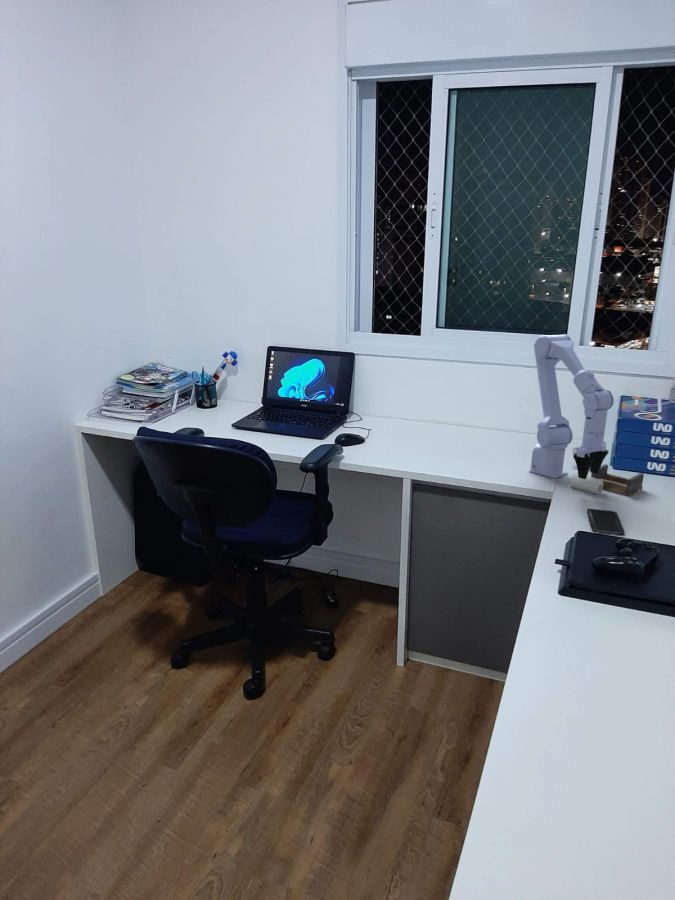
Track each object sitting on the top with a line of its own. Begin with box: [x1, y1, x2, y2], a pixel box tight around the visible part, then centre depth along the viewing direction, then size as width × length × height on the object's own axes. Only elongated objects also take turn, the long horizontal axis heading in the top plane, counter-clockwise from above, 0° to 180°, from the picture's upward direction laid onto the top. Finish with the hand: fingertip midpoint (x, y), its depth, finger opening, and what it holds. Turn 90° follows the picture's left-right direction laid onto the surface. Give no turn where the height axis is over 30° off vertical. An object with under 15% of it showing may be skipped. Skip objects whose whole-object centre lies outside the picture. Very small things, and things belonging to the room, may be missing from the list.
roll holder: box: [590, 464, 645, 497], centre depth 202 cm, size 12×9×5 cm
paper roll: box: [570, 472, 603, 495], centre depth 199 cm, size 8×4×4 cm, turn 44°
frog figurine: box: [572, 444, 590, 457], centre depth 221 cm, size 6×7×7 cm
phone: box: [586, 508, 625, 536], centre depth 176 cm, size 8×1×15 cm
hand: (588, 475), depth 198 cm, fingers open, 7 cm apart
